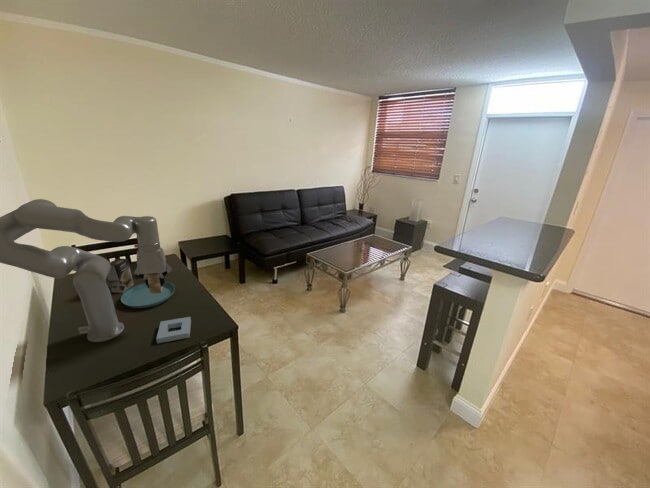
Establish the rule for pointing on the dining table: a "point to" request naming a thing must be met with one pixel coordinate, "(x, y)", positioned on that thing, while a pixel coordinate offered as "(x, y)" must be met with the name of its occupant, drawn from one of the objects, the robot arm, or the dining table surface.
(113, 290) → the coffee box
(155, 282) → the plug
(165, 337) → the grey square-hole plate
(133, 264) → the dining table surface
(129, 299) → the blue plate
